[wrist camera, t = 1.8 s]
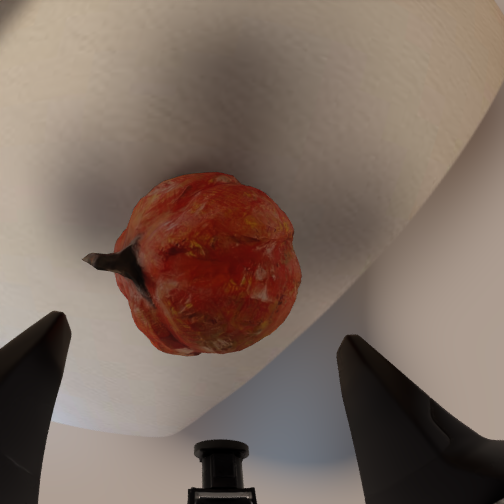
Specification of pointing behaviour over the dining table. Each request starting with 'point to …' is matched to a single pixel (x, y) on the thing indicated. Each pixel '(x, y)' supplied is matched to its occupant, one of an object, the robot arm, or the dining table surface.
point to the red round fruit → (205, 265)
